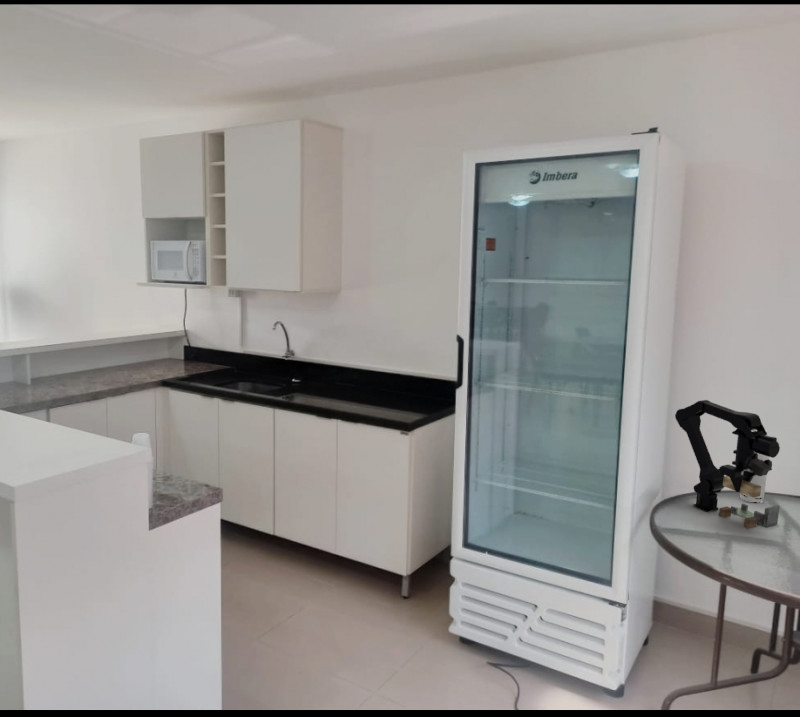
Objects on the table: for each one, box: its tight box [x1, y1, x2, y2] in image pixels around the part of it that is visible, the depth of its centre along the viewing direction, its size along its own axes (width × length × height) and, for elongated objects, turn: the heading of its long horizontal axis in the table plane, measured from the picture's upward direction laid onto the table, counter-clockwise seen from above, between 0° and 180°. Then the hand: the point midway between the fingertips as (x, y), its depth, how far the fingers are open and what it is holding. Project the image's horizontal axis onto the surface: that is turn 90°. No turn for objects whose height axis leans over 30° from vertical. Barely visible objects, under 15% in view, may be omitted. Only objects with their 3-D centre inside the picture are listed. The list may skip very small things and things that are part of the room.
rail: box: [723, 475, 761, 497], centre depth 227 cm, size 12×4×4 cm, turn 27°
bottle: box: [739, 429, 770, 503], centre depth 248 cm, size 8×8×28 cm
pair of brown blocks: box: [718, 506, 758, 530], centre depth 230 cm, size 12×4×3 cm, turn 27°
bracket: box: [730, 503, 780, 528], centre depth 233 cm, size 15×7×7 cm, turn 27°
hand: (740, 491), depth 228 cm, fingers closed on rail, 3 cm apart
